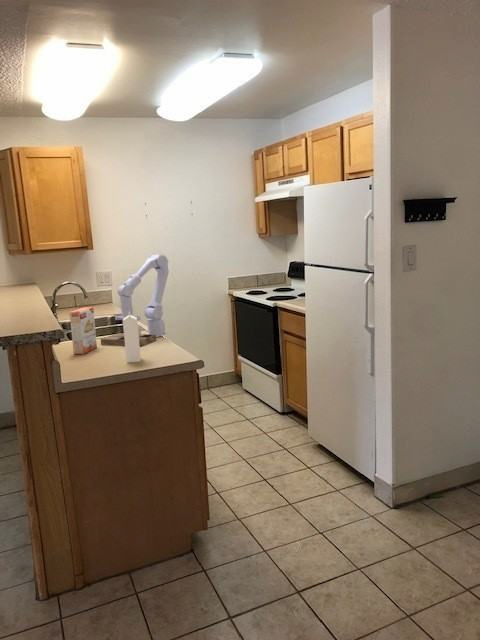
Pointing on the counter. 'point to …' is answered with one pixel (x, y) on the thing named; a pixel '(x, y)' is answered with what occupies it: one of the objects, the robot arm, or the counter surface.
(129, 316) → the milk
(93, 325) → the cracker box
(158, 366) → the counter surface
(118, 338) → the trap board
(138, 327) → the block
